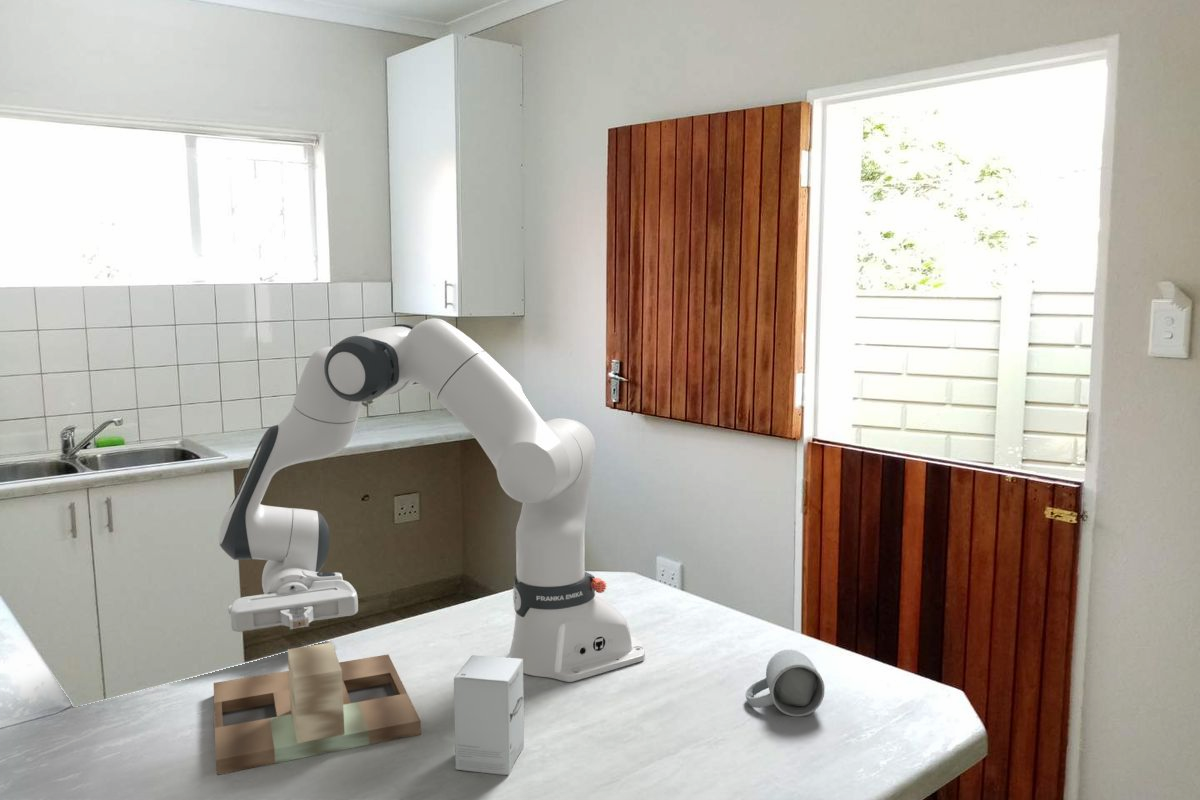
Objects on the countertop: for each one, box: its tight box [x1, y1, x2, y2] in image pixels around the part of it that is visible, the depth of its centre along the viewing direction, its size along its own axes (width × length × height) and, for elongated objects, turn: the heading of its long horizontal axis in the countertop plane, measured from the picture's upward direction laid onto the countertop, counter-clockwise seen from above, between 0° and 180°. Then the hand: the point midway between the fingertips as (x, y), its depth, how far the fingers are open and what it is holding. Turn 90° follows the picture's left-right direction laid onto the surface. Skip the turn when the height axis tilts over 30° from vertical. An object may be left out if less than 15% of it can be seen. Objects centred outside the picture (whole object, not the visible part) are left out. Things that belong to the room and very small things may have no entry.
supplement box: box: [453, 654, 525, 776], centre depth 120 cm, size 7×7×13 cm
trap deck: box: [213, 654, 422, 776], centre depth 133 cm, size 26×24×2 cm
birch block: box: [287, 642, 344, 743], centre depth 126 cm, size 6×10×9 cm, turn 23°
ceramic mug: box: [745, 649, 825, 718], centre depth 135 cm, size 11×8×8 cm
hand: (299, 623), depth 148 cm, fingers closed
